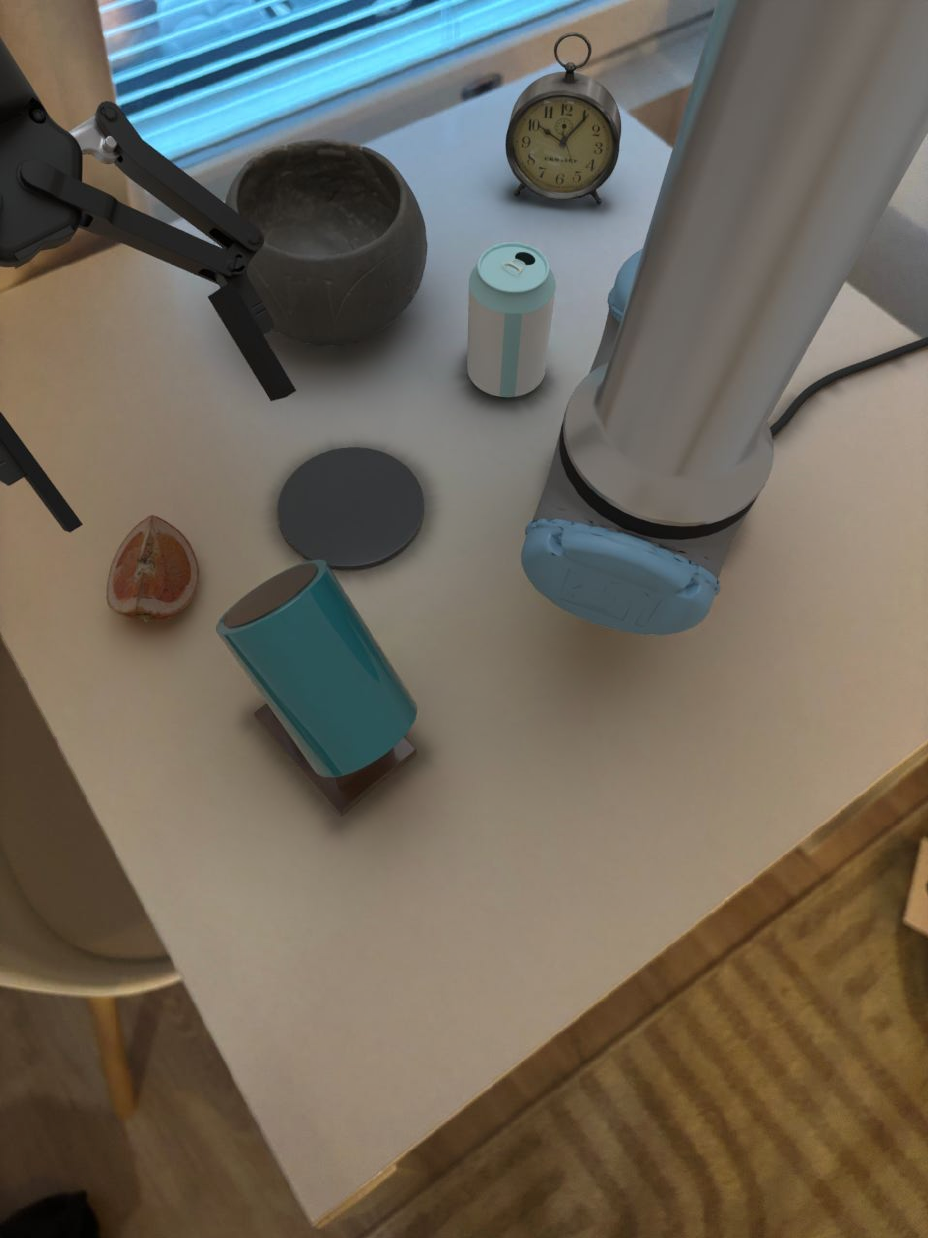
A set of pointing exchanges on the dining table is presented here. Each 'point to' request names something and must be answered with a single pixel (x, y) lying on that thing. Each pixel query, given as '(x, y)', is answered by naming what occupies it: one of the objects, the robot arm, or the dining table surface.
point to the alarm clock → (564, 134)
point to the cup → (319, 669)
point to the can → (509, 319)
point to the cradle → (341, 788)
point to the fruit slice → (152, 572)
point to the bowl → (331, 239)
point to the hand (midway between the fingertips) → (183, 459)
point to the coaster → (351, 508)
